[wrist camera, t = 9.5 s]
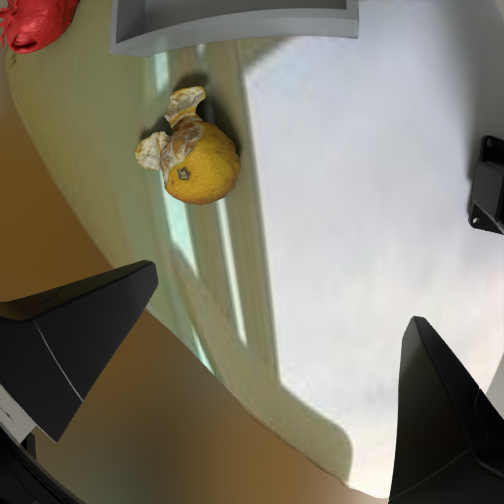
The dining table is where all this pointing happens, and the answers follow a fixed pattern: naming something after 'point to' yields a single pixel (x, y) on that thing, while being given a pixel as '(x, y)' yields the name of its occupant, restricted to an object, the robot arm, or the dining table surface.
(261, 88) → the dining table surface
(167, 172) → the fruit
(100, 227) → the dining table surface
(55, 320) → the robot arm
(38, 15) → the pomegranate
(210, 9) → the serving bin
